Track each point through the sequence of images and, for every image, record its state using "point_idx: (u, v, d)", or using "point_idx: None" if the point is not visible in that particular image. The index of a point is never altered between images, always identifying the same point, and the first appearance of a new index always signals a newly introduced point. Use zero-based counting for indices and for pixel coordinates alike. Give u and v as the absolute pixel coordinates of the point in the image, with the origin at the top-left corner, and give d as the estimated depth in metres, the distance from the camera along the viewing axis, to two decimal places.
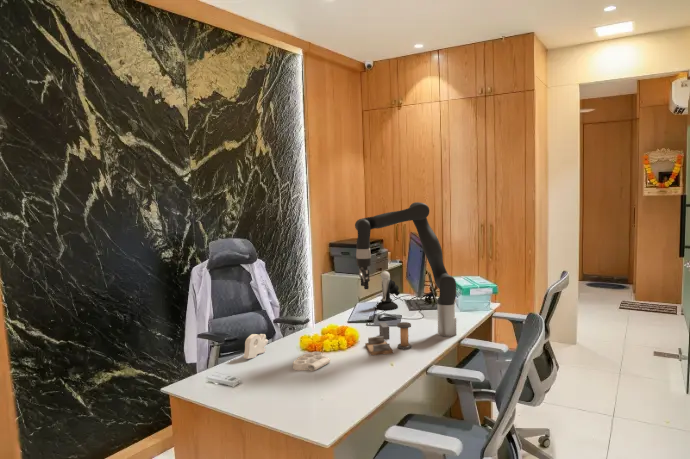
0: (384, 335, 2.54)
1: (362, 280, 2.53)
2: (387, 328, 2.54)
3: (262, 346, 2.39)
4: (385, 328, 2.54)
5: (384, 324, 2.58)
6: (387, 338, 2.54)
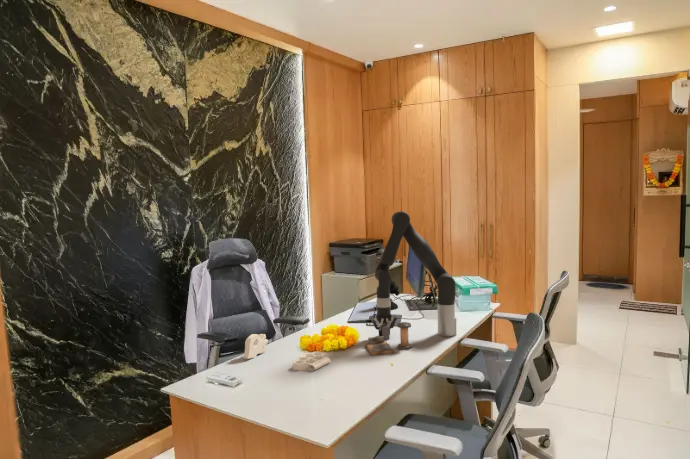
0: (384, 335, 2.54)
1: None
2: (387, 328, 2.54)
3: (262, 346, 2.39)
4: (385, 328, 2.54)
5: (384, 324, 2.58)
6: (387, 338, 2.54)
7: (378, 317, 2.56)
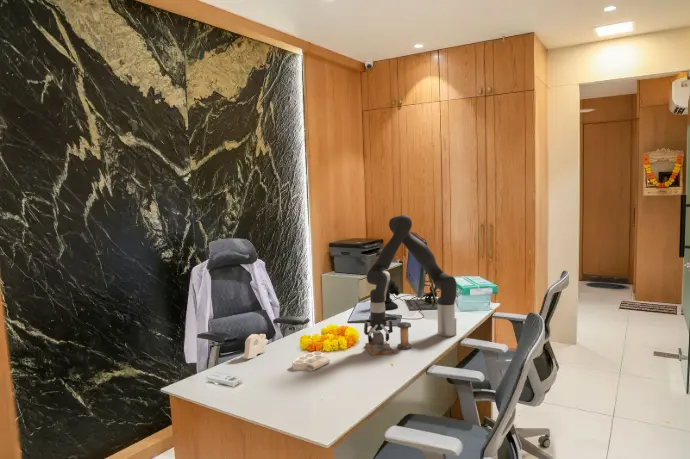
0: None
1: None
2: (381, 336, 2.35)
3: (262, 346, 2.39)
4: (379, 336, 2.35)
5: (378, 332, 2.40)
6: None
7: (372, 323, 2.36)
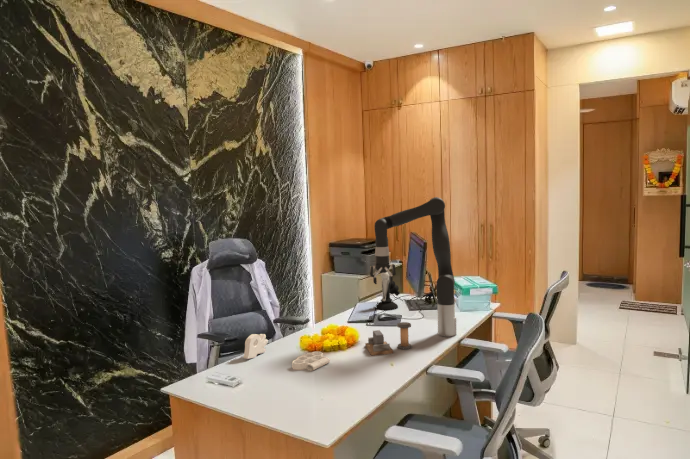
0: None
1: None
2: (381, 336, 2.35)
3: (262, 346, 2.39)
4: (379, 336, 2.35)
5: (378, 332, 2.40)
6: None
7: (377, 266, 2.61)
